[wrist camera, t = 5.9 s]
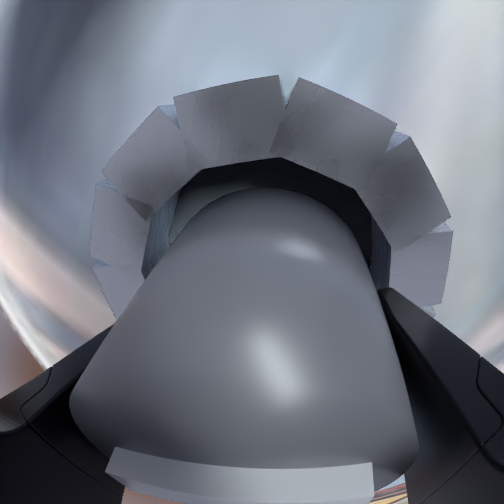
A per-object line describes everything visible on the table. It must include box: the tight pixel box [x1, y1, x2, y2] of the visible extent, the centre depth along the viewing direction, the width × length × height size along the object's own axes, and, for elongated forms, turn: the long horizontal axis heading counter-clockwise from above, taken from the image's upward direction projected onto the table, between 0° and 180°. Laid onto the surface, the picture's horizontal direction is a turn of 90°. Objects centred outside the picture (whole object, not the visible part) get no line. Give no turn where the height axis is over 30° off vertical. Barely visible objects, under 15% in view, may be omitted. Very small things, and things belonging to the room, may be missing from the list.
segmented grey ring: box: [90, 75, 453, 320], centre depth 10 cm, size 12×12×2 cm
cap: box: [69, 188, 419, 504], centre depth 6 cm, size 6×6×7 cm
